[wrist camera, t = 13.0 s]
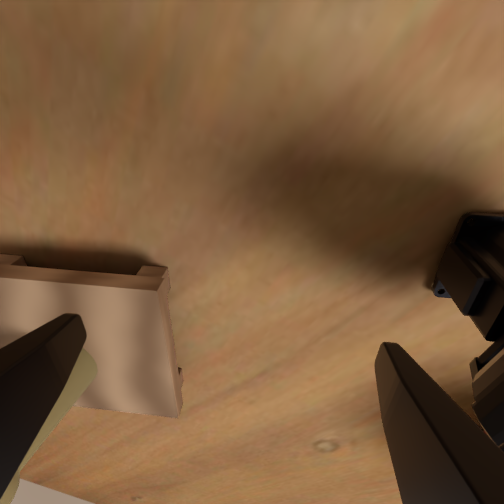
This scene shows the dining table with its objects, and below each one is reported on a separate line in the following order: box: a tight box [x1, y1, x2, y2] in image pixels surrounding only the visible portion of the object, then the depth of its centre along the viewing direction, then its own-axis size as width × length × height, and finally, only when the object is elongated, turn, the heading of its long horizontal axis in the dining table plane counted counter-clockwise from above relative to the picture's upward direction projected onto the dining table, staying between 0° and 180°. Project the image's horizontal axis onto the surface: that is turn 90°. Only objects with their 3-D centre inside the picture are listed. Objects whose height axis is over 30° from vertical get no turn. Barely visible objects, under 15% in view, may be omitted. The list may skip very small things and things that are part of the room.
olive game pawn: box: [0, 348, 98, 504], centre depth 22 cm, size 6×6×11 cm
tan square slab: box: [0, 254, 183, 418], centre depth 27 cm, size 15×15×4 cm
